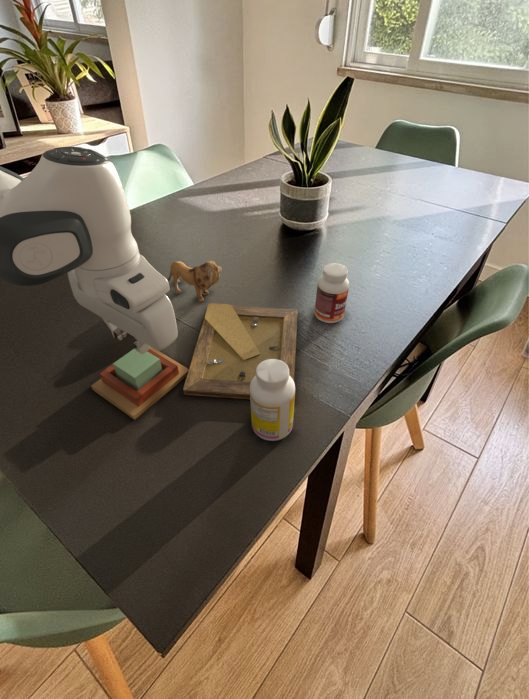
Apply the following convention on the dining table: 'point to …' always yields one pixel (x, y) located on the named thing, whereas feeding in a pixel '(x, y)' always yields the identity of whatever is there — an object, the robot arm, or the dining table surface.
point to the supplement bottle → (272, 400)
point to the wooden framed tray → (148, 394)
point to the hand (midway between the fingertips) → (131, 343)
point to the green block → (137, 368)
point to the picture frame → (239, 348)
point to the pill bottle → (332, 293)
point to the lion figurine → (195, 276)
